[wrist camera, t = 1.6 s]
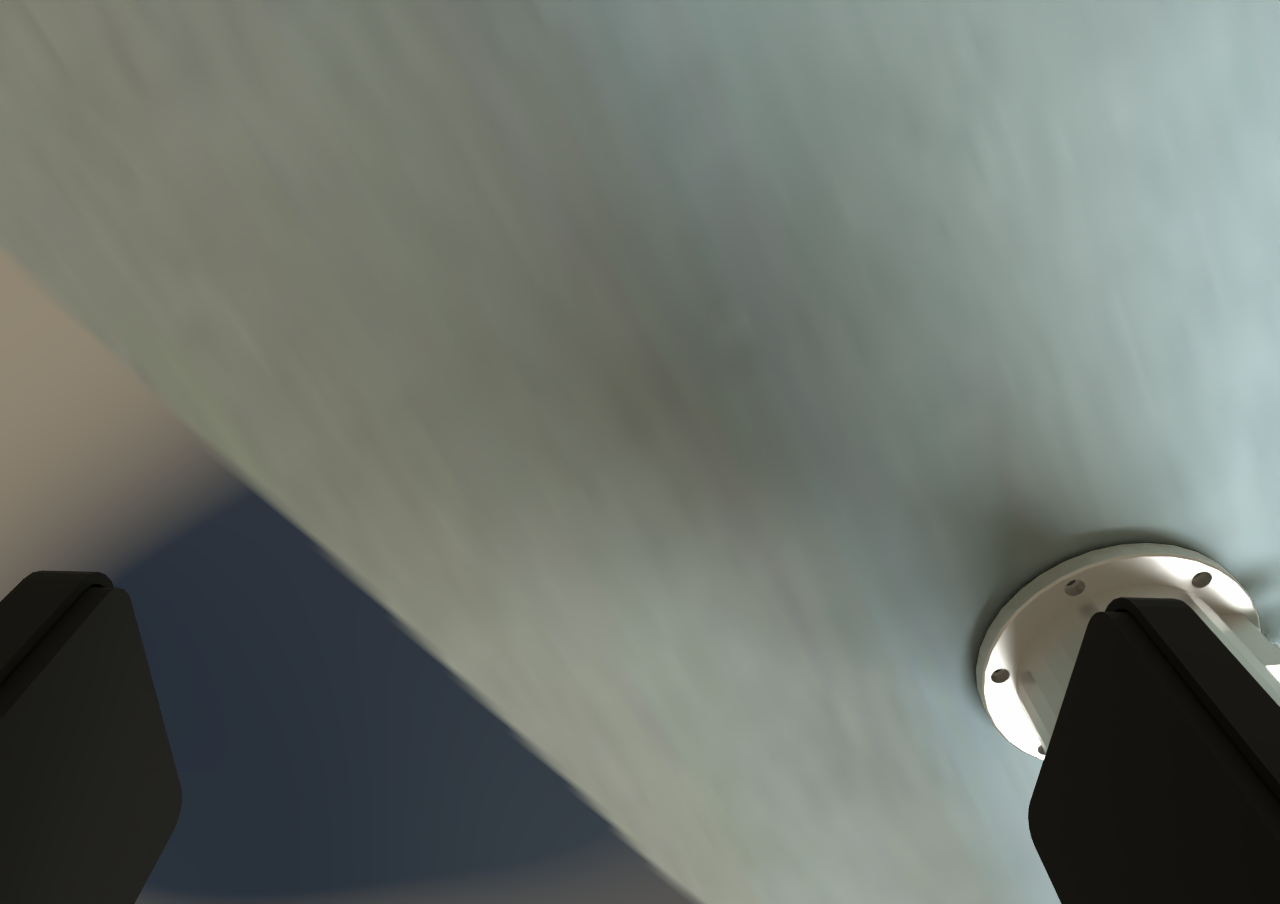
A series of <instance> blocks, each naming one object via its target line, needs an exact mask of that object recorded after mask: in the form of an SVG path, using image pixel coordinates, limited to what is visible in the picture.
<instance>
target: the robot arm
mask: <svg viewBox="0 0 1280 904" xmlns="http://www.w3.org/2000/svg"><path fill="white" fill-rule="evenodd" d="M976 678H977V689H978V692H979V695H980V698H981V701H982V704H983V706H984V708H985V710H986V712H987V714H988V716H989V718H990V720H991V721H992V724H993V726H994V727H995V728H996V729H997V730H998V731H999V732H1000V734H1001V735H1002V736H1003V737H1004V738H1005V739H1006V740H1007V741H1008V742H1010V743H1011V744H1012V745H1014V746H1015V747H1017V748H1018V749H1019V750H1021V751H1022V752H1025V753H1027V754H1029V755H1031V756H1033V757H1035V758H1038V759H1040V760H1044V761H1043V764H1042V767H1041V770H1040V773H1039V776H1038V779H1037V782H1036V786H1035V789H1034V792H1033V795H1032V798H1031V801H1030V805H1029V812H1028V820H1029V829H1030V833H1031V838H1032V840H1033V843H1034V846H1035V848H1036V850H1037V852H1038V854H1039V856H1040V858H1041V861H1042V863H1043V865H1044V867H1045V869H1046V871H1047V873H1048V876H1049V878H1050V880H1051V882H1052V884H1053V886H1054V888H1055V891H1056V893H1057V895H1058V897H1059V899H1060V901H1061V903H1062V904H1280V647H1279V646H1277V645H1275V644H1272V643H1271V642H1270V641H1269V640H1268V639H1267V638H1266V637H1265V636H1264V635H1263V634H1262V633H1261V628H1260V622H1259V615H1258V612H1257V610H1256V608H1255V605H1254V603H1253V601H1252V599H1251V597H1250V595H1249V594H1248V593H1247V591H1246V590H1245V589H1244V588H1243V587H1242V586H1241V584H1240V583H1239V582H1238V581H1237V580H1236V579H1235V578H1234V577H1233V576H1232V575H1231V574H1230V573H1228V572H1227V571H1226V570H1225V569H1224V568H1223V567H1222V566H1221V565H1220V564H1218V563H1217V562H1215V561H1213V560H1211V559H1210V558H1208V557H1206V556H1204V555H1202V554H1200V553H1198V552H1195V551H1192V550H1189V549H1185V548H1182V547H1178V546H1175V545H1165V544H1155V543H1137V544H1122V545H1116V546H1112V547H1107V548H1103V549H1098V550H1093V551H1090V552H1088V553H1085V554H1082V555H1080V556H1077V557H1074V558H1072V559H1069V560H1066V561H1064V562H1063V563H1061V564H1059V565H1057V566H1055V567H1053V568H1052V569H1050V570H1048V571H1046V572H1044V573H1042V574H1041V575H1039V576H1038V577H1037V578H1035V579H1034V580H1033V581H1031V582H1030V583H1029V584H1027V585H1026V586H1025V587H1023V588H1022V589H1021V590H1020V591H1018V593H1017V594H1016V595H1015V596H1014V597H1013V598H1012V599H1011V600H1010V601H1009V602H1008V603H1007V604H1006V605H1005V606H1004V607H1003V608H1002V609H1001V611H1000V612H999V614H998V615H997V617H996V618H995V619H994V621H993V622H992V624H991V625H990V627H989V628H988V630H987V633H986V635H985V637H984V640H983V642H982V645H981V647H980V649H979V655H978V660H977V666H976ZM181 804H182V791H181V785H180V782H179V778H178V774H177V771H176V767H175V763H174V759H173V756H172V752H171V748H170V744H169V741H168V737H167V733H166V729H165V725H164V722H163V718H162V714H161V711H160V707H159V703H158V699H157V696H156V692H155V688H154V684H153V681H152V677H151V673H150V669H149V666H148V662H147V658H146V655H145V651H144V647H143V643H142V640H141V636H140V632H139V628H138V624H137V621H136V617H135V613H134V609H133V606H132V602H131V600H130V597H129V595H128V593H127V592H126V591H125V590H124V589H121V588H114V586H113V584H112V581H111V580H110V579H109V578H108V577H107V576H106V575H105V574H102V573H99V572H76V571H75V572H74V571H38V572H33V573H31V574H30V575H28V576H27V577H26V578H24V579H23V580H22V581H21V582H20V583H19V584H18V585H17V586H16V587H15V588H14V589H13V590H12V591H11V592H10V593H9V594H8V595H7V596H6V597H5V598H4V599H3V600H2V601H1V602H0V904H134V903H135V901H136V899H137V898H138V896H139V894H140V892H141V890H142V888H143V887H144V885H145V883H146V881H147V879H148V877H149V875H150V874H151V872H152V870H153V868H154V866H155V864H156V862H157V860H158V859H159V857H160V855H161V853H162V851H163V849H164V847H165V846H166V844H167V842H168V840H169V838H170V836H171V834H172V833H173V831H174V828H175V826H176V824H177V821H178V818H179V814H180V810H181Z"/></svg>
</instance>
